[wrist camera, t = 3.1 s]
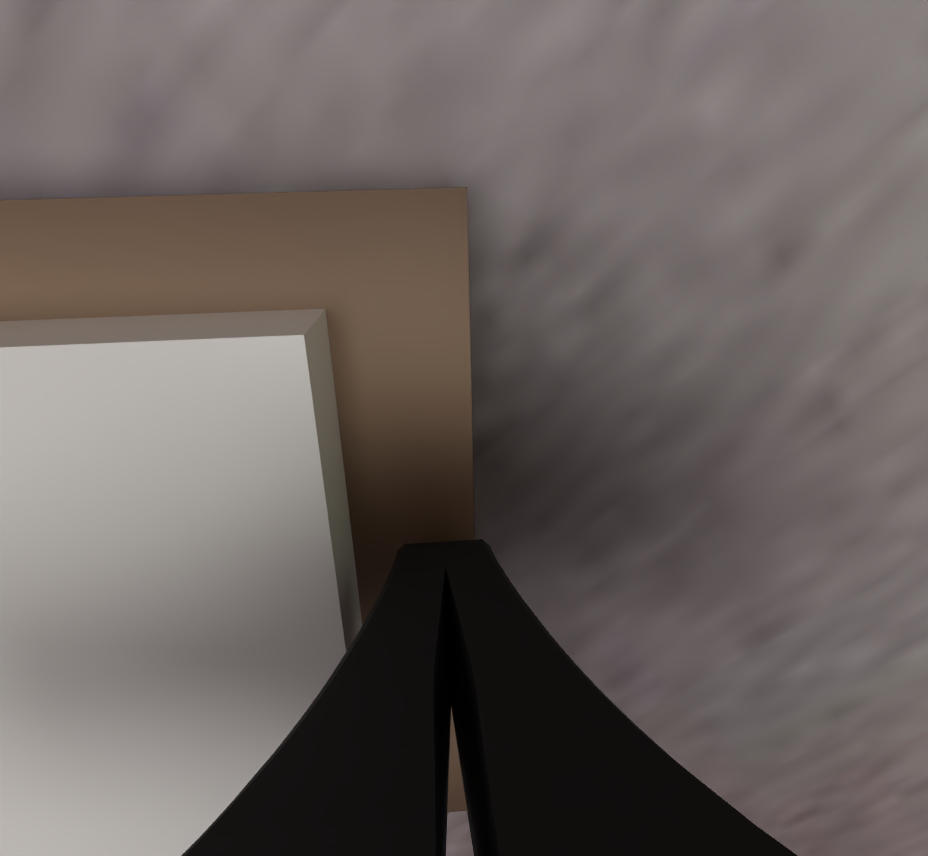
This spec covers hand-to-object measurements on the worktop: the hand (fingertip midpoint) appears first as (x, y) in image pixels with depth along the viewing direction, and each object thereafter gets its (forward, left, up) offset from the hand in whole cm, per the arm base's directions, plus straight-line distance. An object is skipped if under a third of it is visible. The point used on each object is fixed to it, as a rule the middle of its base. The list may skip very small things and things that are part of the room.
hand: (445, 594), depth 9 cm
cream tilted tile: (0, +4, -1) cm, 5 cm away
